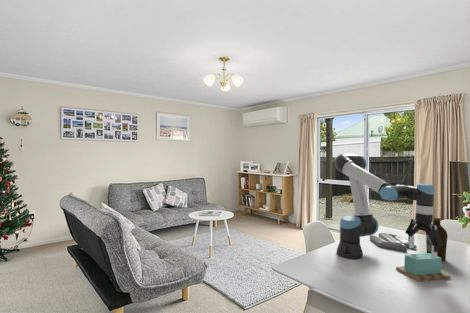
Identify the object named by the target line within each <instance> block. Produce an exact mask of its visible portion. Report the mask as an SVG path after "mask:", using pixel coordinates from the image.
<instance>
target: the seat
mask: <svg viewBox="0 0 470 313" xmlns="http://www.w3.org/2000/svg"><path fill="white" fill-rule="evenodd" d="M395 270H396V271H397V272H400V273H402V274H403V275H404V276H407V277H409V278H411V279H412V280H414V281H416V282H430V281H441V280H449V279H451V278H452V275H451V274H449V273H446V272H443V271H442V270H441V273H435V274H424V275H414V274H412V273H410V272H408V271H406V270H404V266H396V267H395Z"/></svg>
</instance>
